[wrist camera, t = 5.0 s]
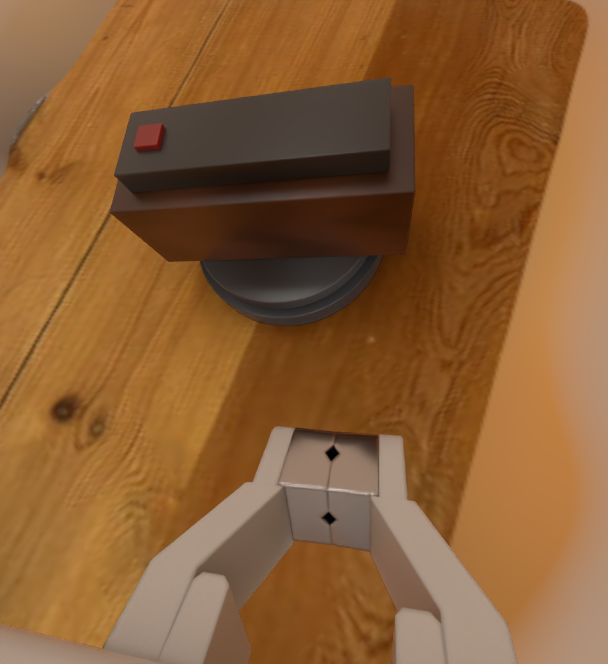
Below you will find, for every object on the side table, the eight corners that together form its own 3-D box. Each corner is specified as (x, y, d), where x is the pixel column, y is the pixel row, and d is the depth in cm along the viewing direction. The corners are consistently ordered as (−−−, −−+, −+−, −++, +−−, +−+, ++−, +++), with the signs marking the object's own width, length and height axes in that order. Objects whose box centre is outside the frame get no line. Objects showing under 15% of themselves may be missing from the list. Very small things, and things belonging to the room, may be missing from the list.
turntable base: (384, 327, 20) (385, 319, 18) (195, 325, 22) (183, 317, 21) (386, 157, 23) (387, 139, 22) (221, 172, 26) (212, 156, 24)
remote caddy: (404, 143, 21) (416, 0, 14) (404, 310, 18) (421, 231, 11) (198, 163, 24) (125, 52, 17) (169, 309, 21) (67, 247, 14)
